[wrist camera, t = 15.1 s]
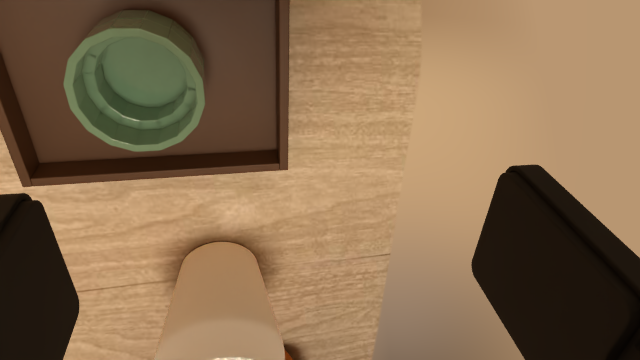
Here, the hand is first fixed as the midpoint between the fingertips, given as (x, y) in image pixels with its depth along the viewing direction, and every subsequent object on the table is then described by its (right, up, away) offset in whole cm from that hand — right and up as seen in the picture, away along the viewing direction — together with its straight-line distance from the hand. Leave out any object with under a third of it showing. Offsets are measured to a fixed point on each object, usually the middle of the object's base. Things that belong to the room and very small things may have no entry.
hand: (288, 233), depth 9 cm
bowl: (-10, +8, +18) cm, 23 cm away
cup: (-8, -7, +30) cm, 31 cm away
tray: (-10, +9, +19) cm, 23 cm away
